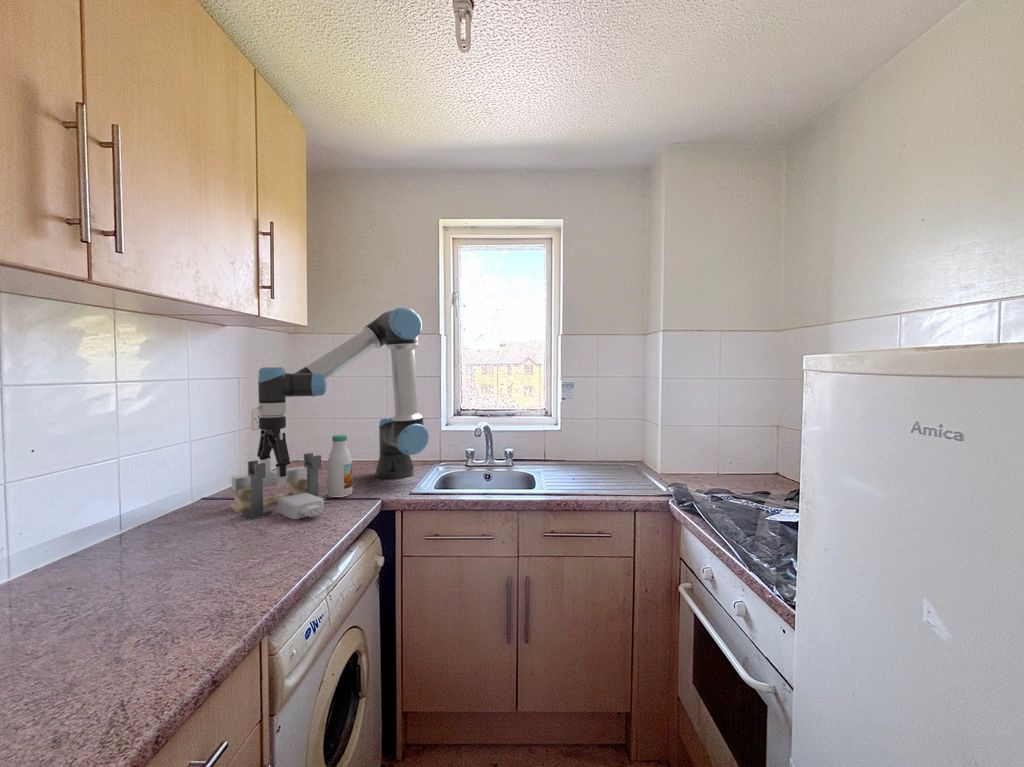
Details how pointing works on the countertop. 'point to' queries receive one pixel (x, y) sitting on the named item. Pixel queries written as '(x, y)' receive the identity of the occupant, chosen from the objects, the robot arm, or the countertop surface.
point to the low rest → (245, 497)
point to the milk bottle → (339, 468)
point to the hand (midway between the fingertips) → (273, 483)
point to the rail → (269, 478)
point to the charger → (300, 506)
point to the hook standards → (258, 475)
